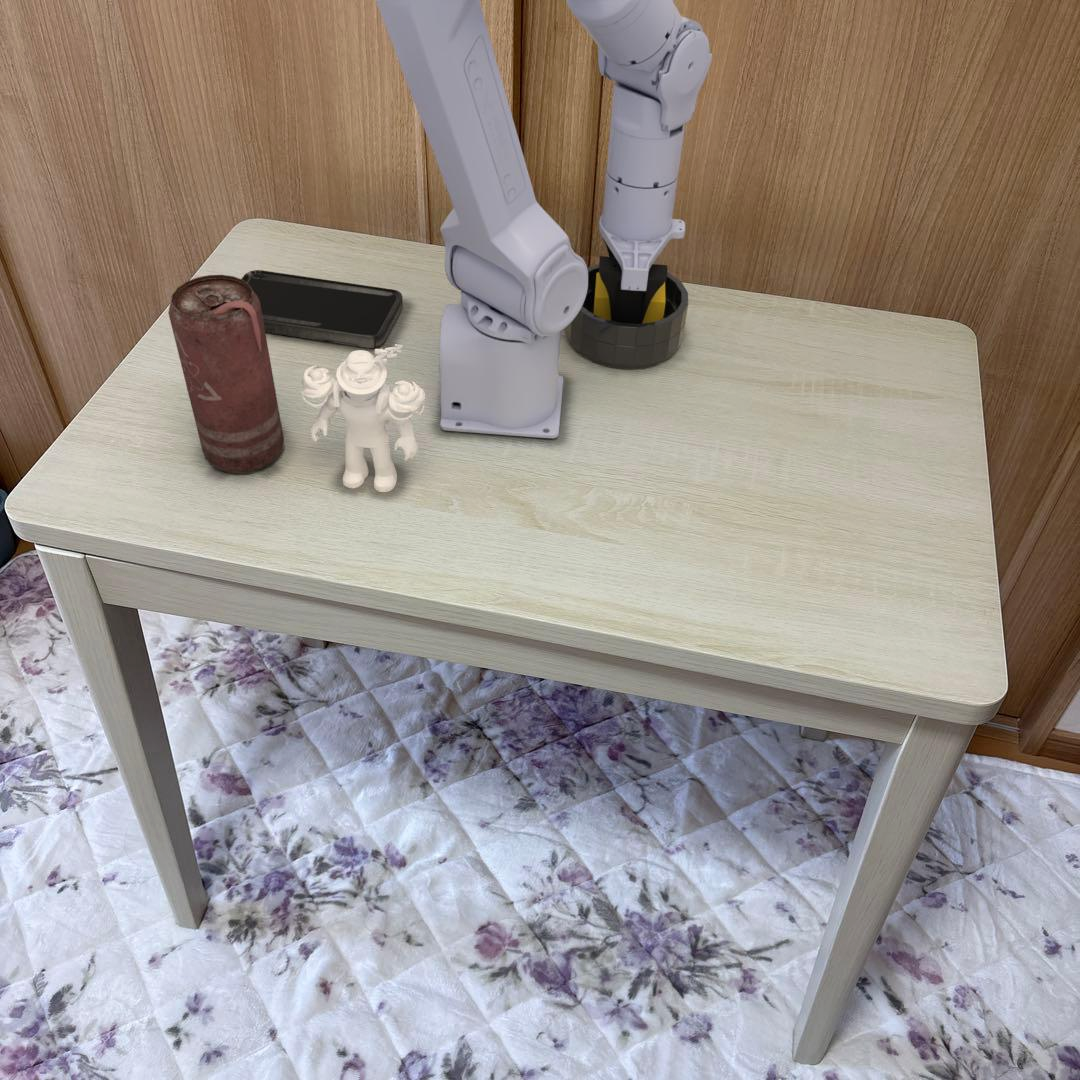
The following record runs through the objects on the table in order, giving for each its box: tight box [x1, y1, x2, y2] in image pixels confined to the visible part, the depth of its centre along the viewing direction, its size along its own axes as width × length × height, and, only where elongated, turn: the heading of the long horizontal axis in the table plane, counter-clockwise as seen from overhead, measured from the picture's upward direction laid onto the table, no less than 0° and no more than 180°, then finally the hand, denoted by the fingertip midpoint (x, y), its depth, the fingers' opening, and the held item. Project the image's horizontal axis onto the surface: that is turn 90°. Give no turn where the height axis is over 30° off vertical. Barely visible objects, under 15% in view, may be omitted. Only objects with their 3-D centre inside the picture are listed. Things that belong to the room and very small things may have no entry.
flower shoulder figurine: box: [300, 343, 426, 493], centre depth 76 cm, size 9×4×12 cm, turn 79°
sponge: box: [593, 272, 665, 323], centre depth 93 cm, size 6×4×4 cm, turn 86°
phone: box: [241, 269, 404, 349], centre depth 95 cm, size 8×1×15 cm
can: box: [167, 274, 285, 475], centre depth 77 cm, size 6×6×14 cm
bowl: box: [565, 263, 689, 370], centre depth 93 cm, size 10×10×4 cm
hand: (625, 317), depth 93 cm, fingers closed on sponge, 4 cm apart
